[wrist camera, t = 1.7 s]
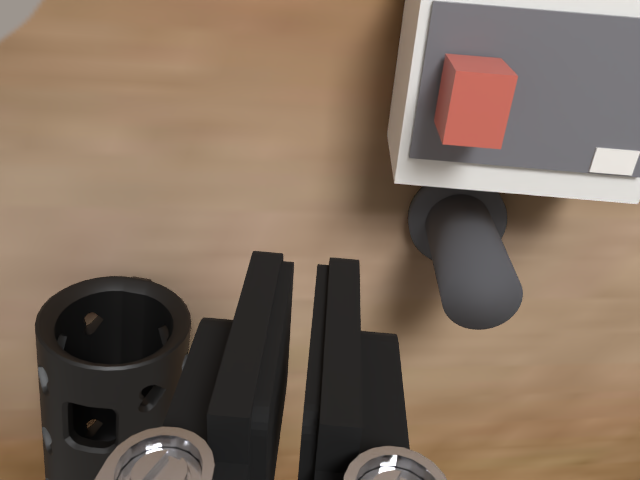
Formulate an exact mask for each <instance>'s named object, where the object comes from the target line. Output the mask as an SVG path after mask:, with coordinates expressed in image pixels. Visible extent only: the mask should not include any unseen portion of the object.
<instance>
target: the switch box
mask: <svg viewBox="0 0 640 480" xmlns="http://www.w3.org/2000/svg"><path fill="white" fill-rule="evenodd" d="M445 53H446V54H458V55H470V56H482V57H494V58H502V59H503V60H504V62H505V63H506V64H507V65H508V66H509V67H510V68H511V69H512V70H513V71H514V72H515V73H516V74H517V75H518V79H517V83H516V88H515V92H514V96H513V100H512V104H511V109H510V113H509V117H508V121H507V126H506V130H505V134H504V138H503V143H502V147H501V149H491V148H480V147H468V146H456V145H444V144H442V142H441V139H440V136H439V134H438V131H437V128H436V125H435V123H434V117H435V111H436V105H437V100H438V94H439V88H440V82H441V76H442V71H443V65H444V59H445ZM387 138H388V145H389V152H390V158H391V165H392V172H393V179H394V183H395V184H407V185H419V186H431V187H442V188H454V189H466V190H478V191H490V192H501V193H513V194H525V195H537V196H549V197H560V198H572V199H584V200H596V201H608V202H619V203H631V204H638V203H639V200H640V0H405V4H404V11H403V19H402V26H401V34H400V41H399V49H398V56H397V64H396V71H395V79H394V86H393V94H392V101H391V109H390V116H389V124H388V131H387Z"/></svg>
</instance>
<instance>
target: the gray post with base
mask: <svg viewBox="0 0 640 480" xmlns="http://www.w3.org/2000/svg"><path fill="white" fill-rule="evenodd" d="M408 225H409V231H410V235H411V238H412V241H413V243H414V244H415V246H416V247H417V249H418V250H419V251H420V252H421V253H422V254H424V255H425V256H426V257H428V258H430V259H431V260H433V265H434V269H435V274H436V278H437V283H438V287H439V292H440V296H441V301H442V305H443V309H444V311H445V313H446V315H447V316H448V317H449V318H450V319H451V320H452V321H453V322H454V323H456V324H458V325H459V326H462V327H464V328H468V329H477V330H480V329H489V328H493V327H496V326H498V325H500V324H502V323H504V322H506V321H507V320H509V319H510V318H511V317H512V316H513V315H514V314H515V313H516V311H517V310H518V308H519V307H520V304H521V302H522V297H523V291H522V286H521V283H520V281H519V279H518V277H517V274H516V272H515V270H514V267H513V265H512V263H511V261H510V258H509V256H508V254H507V251H506V249H505V247H504V245H503V242H502V240H501V238H502V236H503V234H504V232H505V229H506V225H507V211H506V207H505V205H504V202H503V200H502V198H501V196H500V194H499V193H498V192H490V191H478V190H466V189H454V188H442V187H431V186H423V187H422V188H421V189H420V190H419V191H418V192H417V194H416V195H415V196H414V198H413V200H412V202H411V205H410V207H409V212H408Z"/></svg>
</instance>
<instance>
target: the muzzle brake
mask: <svg viewBox="0 0 640 480" xmlns="http://www.w3.org/2000/svg"><path fill="white" fill-rule="evenodd" d="M90 312H94V313H96V314H97V315H98V316H97V317H96V318H95V319H94V320H93V322H92V323H91V324H89V325H88V326H86V322H85V319H84V317H85V316H86V315H87V314H88V313H90ZM190 328H191V319H190V313H189V311H188V308H187V306H186V304H185V303H184V302H183V301H182V299H181V298H180V297H179V296H177V295H176V294H175V293H174V292H172V291H171V290H169V289H167V288H166V287H164V286H162V285H159V284H157V283H154V282H152V281H151V280H150V279H145V278H139V277H131V278H130V277H122V276H110V277H100V278H94V279H90V280H85V281H82V282H79V283H76V284H73V285H71V286H69V287H67V288H65V289H63V290H61V291H59V292H58V293H56V294H55V295H54V296H52V297H51V298H49V300H48V301H47V302H46V303H45V304H44V305H43V306H42V308H41V309H40V311H39V313H38V314H37V318H36V322H35V333H36V347H37V362H38V376H39V391H40V405H41V420H42V434H43V449H44V463H45V478H46V480H95V478H96V476H97V475H98V473H99V471H100V470H101V468H102V466H103V465H104V463H105V461H106V460H107V458H108V457H109V456H110V454H111V453H112V452H113V451H114V450H115V448H116V447H117V446H118V445H120V444H121V443H122V442H124V441H125V440H126V439H128V438H129V437H131V436H132V435H135V434H137V433H140V432H142V431H145V430H147V429H152V428H158V427H162V425H163V423H164V420H165V417H166V414H167V412H168V409H169V406H170V403H171V401H172V398H173V395H174V392H175V390H176V387H177V384H178V381H179V379H180V376H181V373H182V370H183V368H184V365H185V362H186V359H187V356H188V348H189V338H190ZM91 419H96V421H95V423H94V424H93V425H92V426H90V427H89V428H87V425H86V424H87V422H89V421H90V420H91Z"/></svg>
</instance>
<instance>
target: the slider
mask: <svg viewBox="0 0 640 480" xmlns="http://www.w3.org/2000/svg"><path fill="white" fill-rule="evenodd" d="M517 79H518V75H517V74H516V73H515V72H514V71H513V70H512V69H511V68H510V67H509V66H508V65H507V64H506V63H505V62H504V60H503V59H502V58H494V57H482V56H470V55H458V54H446V53H445V59H444V65H443V71H442V76H441V82H440V88H439V94H438V100H437V105H436V111H435V117H434V123H435V125H436V128H437V131H438V134H439V136H440V139H441V142H442V144H444V145H456V146H468V147H480V148H491V149H501V147H502V143H503V138H504V134H505V130H506V126H507V121H508V117H509V113H510V109H511V104H512V100H513V96H514V92H515V88H516V83H517Z"/></svg>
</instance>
